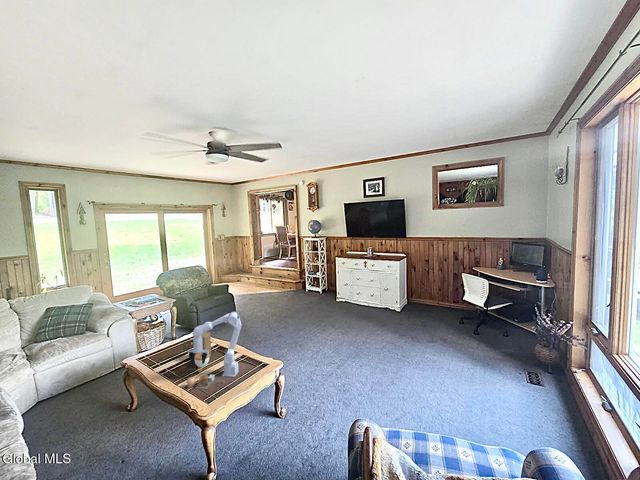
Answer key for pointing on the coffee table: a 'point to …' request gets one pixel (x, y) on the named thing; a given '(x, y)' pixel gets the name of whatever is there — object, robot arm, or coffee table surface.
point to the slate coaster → (203, 387)
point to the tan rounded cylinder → (190, 382)
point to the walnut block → (203, 381)
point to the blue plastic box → (211, 378)
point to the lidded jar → (199, 360)
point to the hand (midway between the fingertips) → (198, 363)
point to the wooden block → (206, 342)
